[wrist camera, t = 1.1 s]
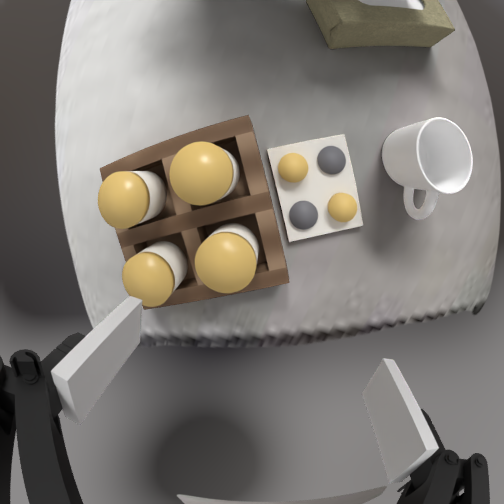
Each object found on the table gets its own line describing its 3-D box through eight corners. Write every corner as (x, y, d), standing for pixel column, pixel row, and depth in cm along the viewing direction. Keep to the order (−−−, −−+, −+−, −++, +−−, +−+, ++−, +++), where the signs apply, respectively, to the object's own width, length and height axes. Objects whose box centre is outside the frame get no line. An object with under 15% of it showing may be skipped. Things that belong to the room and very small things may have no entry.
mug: (420, 219, 34) (461, 234, 24) (371, 206, 34) (404, 219, 24) (432, 139, 30) (475, 133, 20) (383, 121, 30) (419, 106, 21)
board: (117, 168, 35) (99, 168, 30) (251, 122, 32) (248, 115, 28) (156, 296, 40) (143, 309, 35) (287, 269, 37) (289, 282, 33)
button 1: (119, 180, 31) (92, 182, 25) (160, 164, 30) (136, 163, 24) (131, 224, 32) (106, 235, 27) (172, 212, 32) (151, 220, 26)
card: (267, 149, 33) (266, 148, 31) (342, 135, 32) (346, 132, 29) (288, 240, 36) (289, 244, 34) (360, 224, 34) (365, 227, 32)
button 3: (182, 156, 30) (163, 153, 24) (232, 141, 29) (222, 133, 23) (195, 205, 31) (178, 212, 25) (245, 192, 30) (238, 196, 25)
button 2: (138, 247, 33) (115, 260, 27) (179, 235, 32) (160, 249, 27) (153, 289, 35) (133, 309, 29) (193, 281, 34) (179, 302, 28)
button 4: (202, 230, 32) (187, 242, 26) (252, 217, 31) (247, 227, 25) (216, 277, 33) (205, 297, 28) (264, 267, 33) (262, 286, 27)
